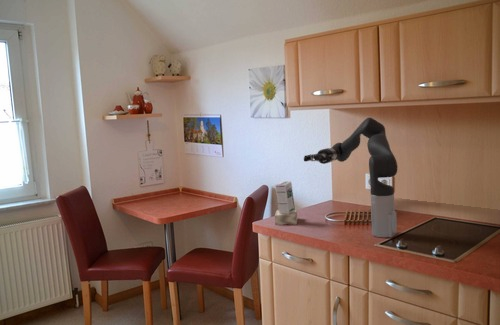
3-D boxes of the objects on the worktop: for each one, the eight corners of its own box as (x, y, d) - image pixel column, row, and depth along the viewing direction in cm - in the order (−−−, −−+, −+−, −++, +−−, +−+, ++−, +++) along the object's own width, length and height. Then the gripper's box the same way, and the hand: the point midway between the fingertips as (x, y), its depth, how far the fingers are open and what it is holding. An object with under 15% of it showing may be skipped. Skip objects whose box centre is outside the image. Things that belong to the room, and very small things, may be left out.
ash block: (297, 219, 219) (296, 209, 218) (296, 225, 209) (295, 214, 209) (277, 220, 221) (276, 210, 220) (275, 225, 211) (274, 215, 210)
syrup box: (289, 214, 210) (285, 184, 208) (278, 213, 213) (275, 184, 211) (295, 210, 214) (291, 181, 212) (284, 210, 218) (281, 181, 216)
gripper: (314, 148, 237) (299, 152, 225) (339, 148, 229) (324, 152, 216) (315, 162, 238) (300, 166, 225) (339, 162, 230) (325, 167, 217)
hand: (312, 159), depth 221 cm, fingers open, 8 cm apart
